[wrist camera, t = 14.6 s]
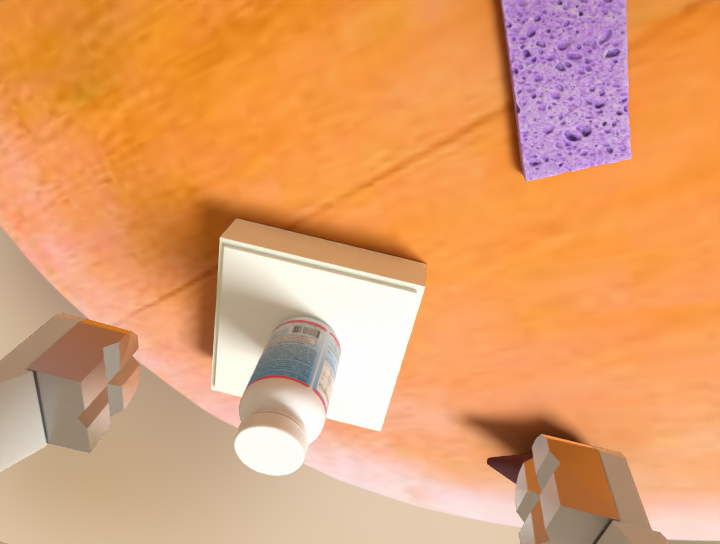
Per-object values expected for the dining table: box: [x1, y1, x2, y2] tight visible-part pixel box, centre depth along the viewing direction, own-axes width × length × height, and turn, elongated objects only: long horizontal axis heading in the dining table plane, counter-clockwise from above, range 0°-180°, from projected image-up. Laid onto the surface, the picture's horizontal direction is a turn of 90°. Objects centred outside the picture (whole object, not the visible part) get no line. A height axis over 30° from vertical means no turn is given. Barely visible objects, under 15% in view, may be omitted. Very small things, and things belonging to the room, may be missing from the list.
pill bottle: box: [234, 317, 341, 475], centre depth 38 cm, size 6×6×11 cm
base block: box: [211, 218, 427, 431], centre depth 45 cm, size 16×16×4 cm
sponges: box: [500, 0, 631, 181], centre depth 33 cm, size 7×13×2 cm, turn 15°
